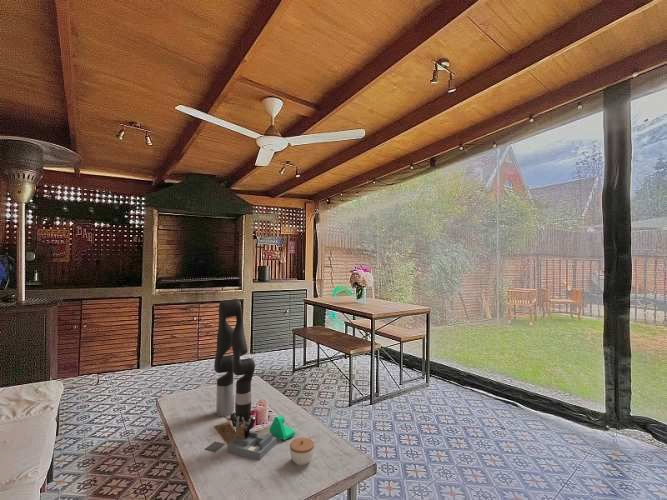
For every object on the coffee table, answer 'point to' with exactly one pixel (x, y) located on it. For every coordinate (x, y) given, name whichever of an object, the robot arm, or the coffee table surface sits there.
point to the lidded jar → (301, 450)
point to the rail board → (252, 445)
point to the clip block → (240, 432)
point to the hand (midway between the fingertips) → (242, 436)
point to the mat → (214, 446)
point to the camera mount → (281, 428)
